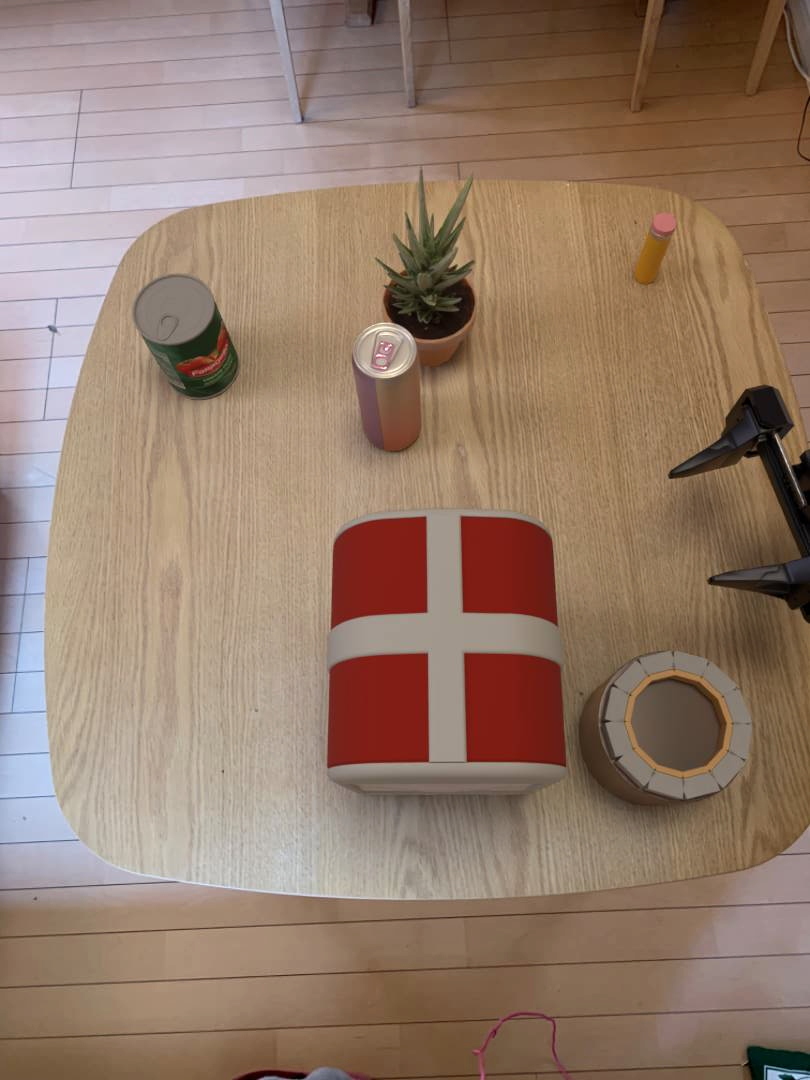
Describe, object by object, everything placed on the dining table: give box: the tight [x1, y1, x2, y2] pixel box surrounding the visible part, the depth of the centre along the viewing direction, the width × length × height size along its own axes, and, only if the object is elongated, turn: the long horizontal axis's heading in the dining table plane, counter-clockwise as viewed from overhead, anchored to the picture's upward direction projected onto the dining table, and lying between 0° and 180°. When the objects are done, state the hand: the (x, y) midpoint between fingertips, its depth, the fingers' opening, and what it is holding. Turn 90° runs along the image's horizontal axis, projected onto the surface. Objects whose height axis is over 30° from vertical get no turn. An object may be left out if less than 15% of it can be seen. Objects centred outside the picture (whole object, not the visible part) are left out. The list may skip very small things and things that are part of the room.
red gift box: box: [326, 507, 568, 796], centre depth 66 cm, size 16×18×27 cm
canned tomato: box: [131, 272, 240, 400], centre depth 86 cm, size 8×8×11 cm
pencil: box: [633, 212, 677, 285], centre depth 89 cm, size 2×2×8 cm
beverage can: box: [351, 321, 422, 451], centre depth 81 cm, size 6×6×15 cm
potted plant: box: [373, 164, 478, 367], centre depth 79 cm, size 10×10×25 cm
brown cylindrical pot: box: [578, 650, 750, 807], centre depth 72 cm, size 12×12×10 cm
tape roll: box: [601, 650, 754, 800], centre depth 67 cm, size 11×11×2 cm
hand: (688, 526), depth 67 cm, fingers open, 9 cm apart
